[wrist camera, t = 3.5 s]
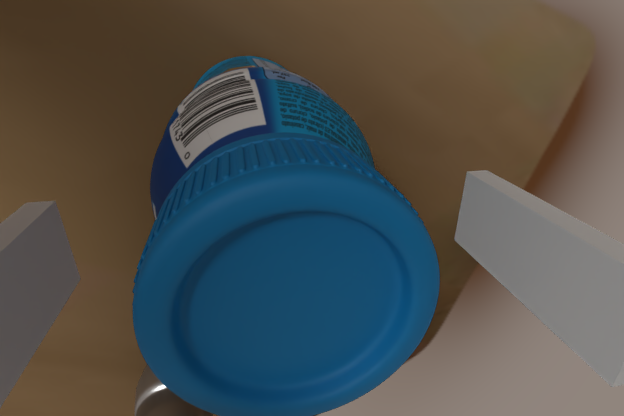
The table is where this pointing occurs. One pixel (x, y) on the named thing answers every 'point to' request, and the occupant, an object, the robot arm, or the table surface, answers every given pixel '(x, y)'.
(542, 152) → the table surface
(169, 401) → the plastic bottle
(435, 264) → the blue lidded jar
